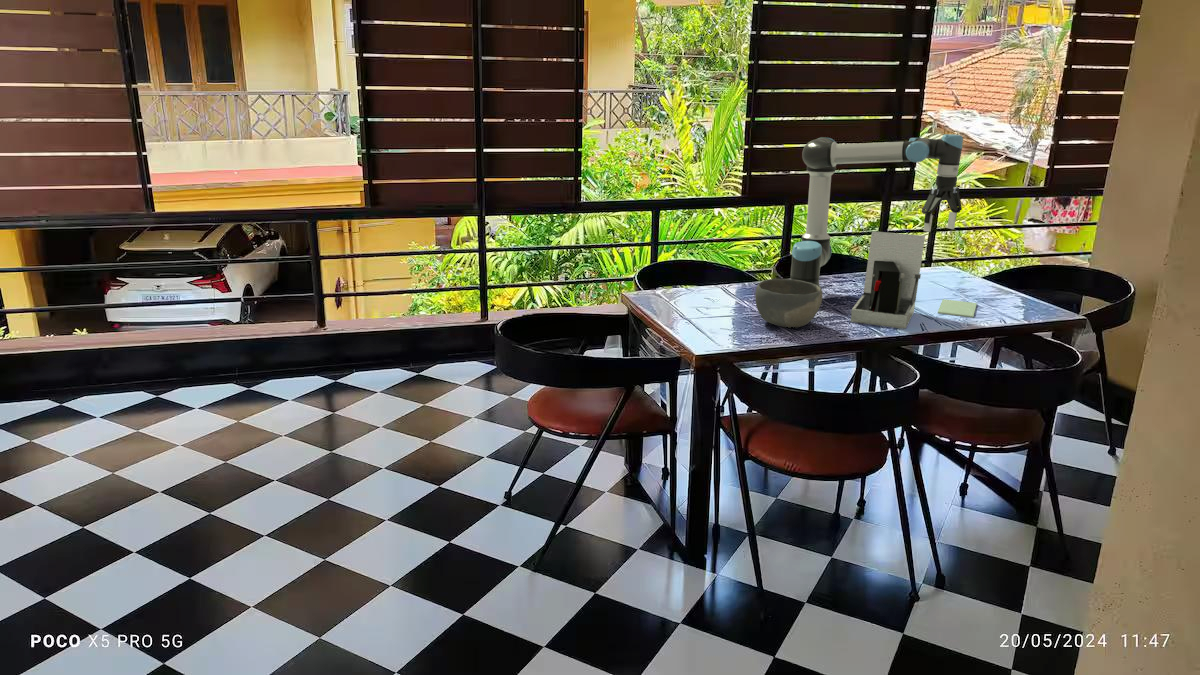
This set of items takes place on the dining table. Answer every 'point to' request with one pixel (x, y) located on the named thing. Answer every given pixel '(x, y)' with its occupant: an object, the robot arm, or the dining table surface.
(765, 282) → the bowl
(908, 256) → the case
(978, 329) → the dining table surface
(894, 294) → the electrical component
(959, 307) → the mat
